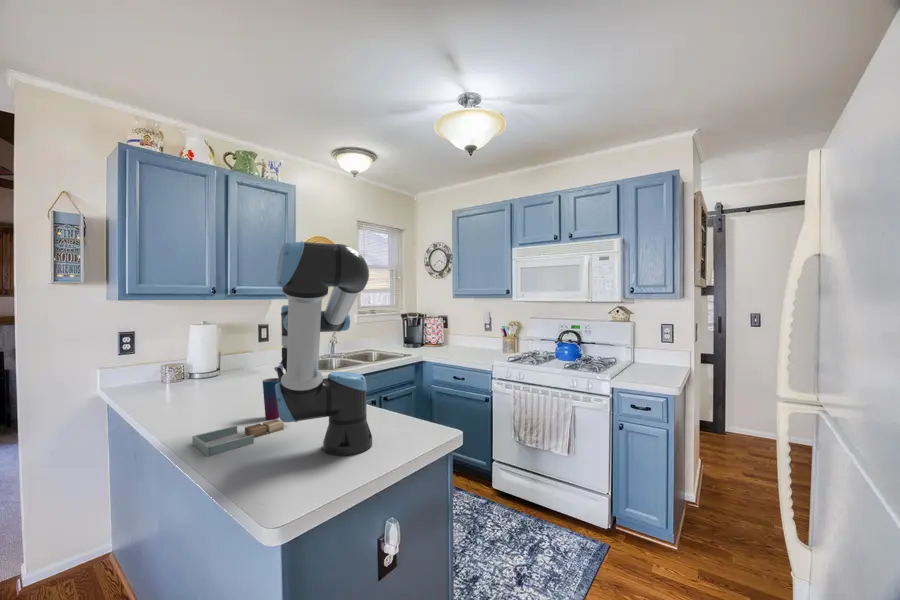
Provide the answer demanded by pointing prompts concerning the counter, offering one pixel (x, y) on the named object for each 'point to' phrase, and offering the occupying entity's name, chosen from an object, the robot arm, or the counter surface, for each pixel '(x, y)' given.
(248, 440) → the box
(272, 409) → the cup
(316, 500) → the counter surface
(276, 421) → the oak tile
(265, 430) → the walnut tile
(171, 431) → the counter surface
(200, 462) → the counter surface
